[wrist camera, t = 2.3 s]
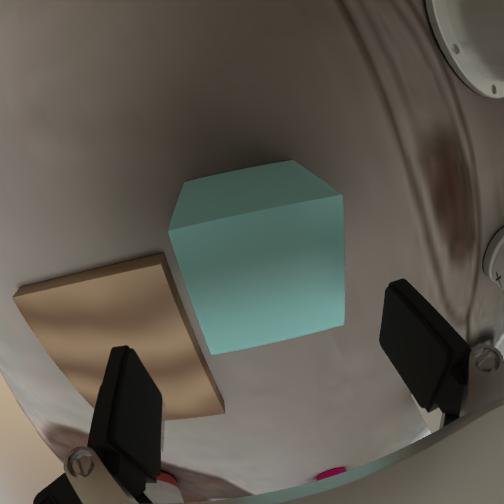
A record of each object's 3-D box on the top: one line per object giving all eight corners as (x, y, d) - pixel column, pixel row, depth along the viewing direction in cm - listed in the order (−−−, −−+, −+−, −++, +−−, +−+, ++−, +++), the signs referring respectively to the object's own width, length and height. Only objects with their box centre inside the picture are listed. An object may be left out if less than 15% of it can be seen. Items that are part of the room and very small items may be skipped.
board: (19, 287, 19) (12, 297, 18) (163, 253, 19) (160, 264, 18) (108, 412, 28) (106, 422, 26) (224, 401, 28) (225, 413, 27)
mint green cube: (184, 181, 17) (167, 230, 11) (292, 159, 18) (342, 195, 11) (209, 274, 21) (211, 355, 14) (303, 254, 21) (344, 324, 14)
